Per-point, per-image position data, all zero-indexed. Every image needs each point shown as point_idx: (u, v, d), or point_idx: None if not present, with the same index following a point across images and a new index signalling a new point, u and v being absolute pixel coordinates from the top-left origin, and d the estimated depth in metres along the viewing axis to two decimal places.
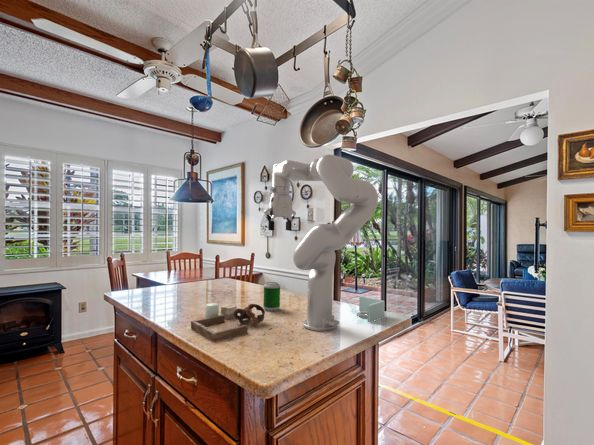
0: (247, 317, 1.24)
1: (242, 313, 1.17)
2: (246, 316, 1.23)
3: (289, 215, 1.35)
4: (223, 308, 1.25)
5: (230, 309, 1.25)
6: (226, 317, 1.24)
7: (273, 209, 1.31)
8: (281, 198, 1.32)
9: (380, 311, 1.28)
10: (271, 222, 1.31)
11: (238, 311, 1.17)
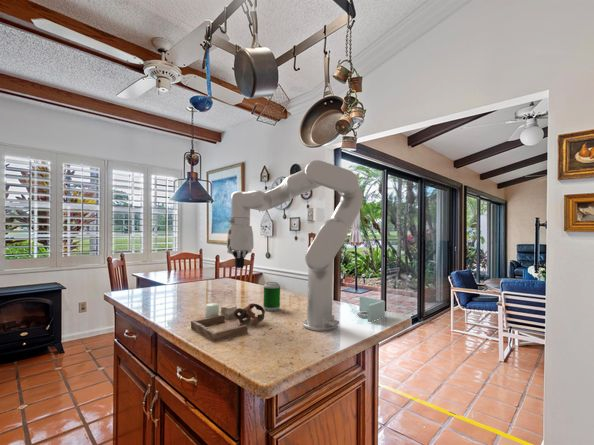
0: (247, 317, 1.24)
1: (242, 313, 1.17)
2: (246, 316, 1.24)
3: (249, 248, 1.23)
4: (223, 308, 1.25)
5: (230, 309, 1.25)
6: (226, 317, 1.24)
7: (231, 242, 1.19)
8: (240, 230, 1.20)
9: (380, 311, 1.28)
10: (238, 259, 1.22)
11: (238, 311, 1.17)
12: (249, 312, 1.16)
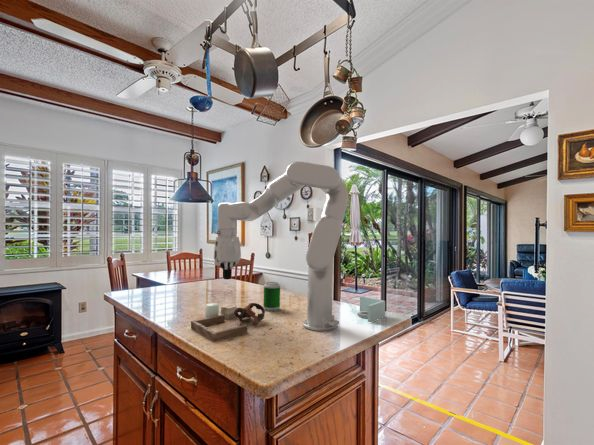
0: (247, 316, 1.25)
1: (242, 312, 1.18)
2: (246, 315, 1.25)
3: (237, 259, 1.23)
4: (223, 308, 1.25)
5: (230, 309, 1.25)
6: (226, 317, 1.24)
7: (217, 254, 1.18)
8: (226, 241, 1.20)
9: (380, 311, 1.28)
10: (225, 271, 1.22)
11: (239, 310, 1.18)
12: (249, 311, 1.17)
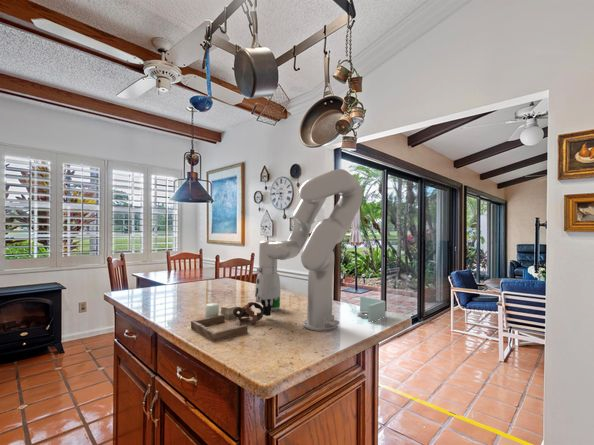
0: (246, 315, 1.26)
1: (241, 311, 1.19)
2: (245, 314, 1.25)
3: (277, 296, 1.25)
4: (223, 308, 1.25)
5: (230, 309, 1.25)
6: (226, 317, 1.24)
7: (259, 292, 1.21)
8: (268, 279, 1.22)
9: (381, 311, 1.28)
10: (266, 307, 1.24)
11: (238, 309, 1.19)
12: (248, 310, 1.18)
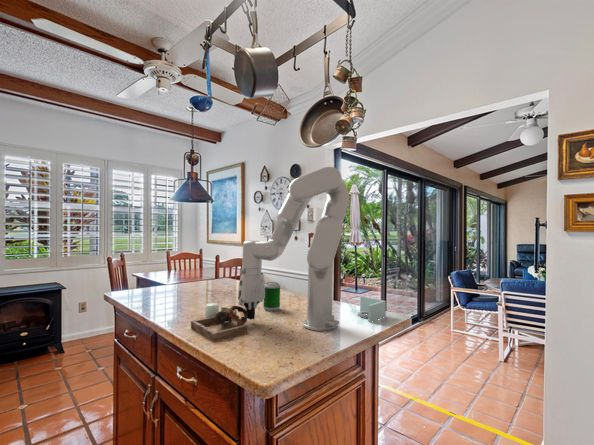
0: (228, 320, 1.19)
1: (225, 316, 1.12)
2: (227, 319, 1.19)
3: (261, 298, 1.20)
4: (223, 308, 1.25)
5: None
6: None
7: (242, 294, 1.16)
8: (251, 281, 1.17)
9: (381, 311, 1.28)
10: (249, 310, 1.19)
11: (221, 314, 1.12)
12: (232, 315, 1.12)
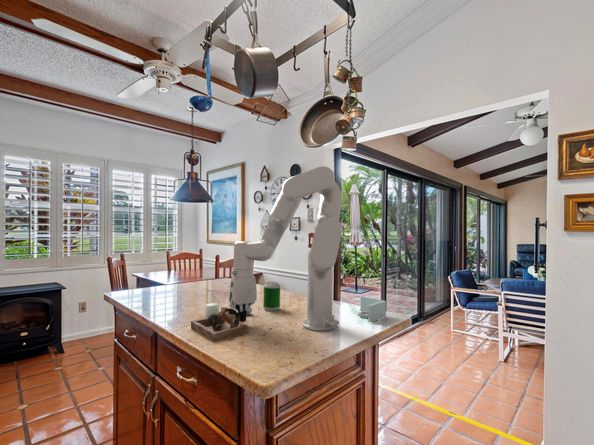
0: (218, 323, 1.15)
1: (217, 319, 1.09)
2: (217, 322, 1.15)
3: (252, 300, 1.17)
4: (223, 308, 1.25)
5: None
6: None
7: (233, 296, 1.13)
8: (242, 282, 1.14)
9: (381, 311, 1.28)
10: (240, 313, 1.16)
11: (213, 317, 1.08)
12: (225, 318, 1.09)
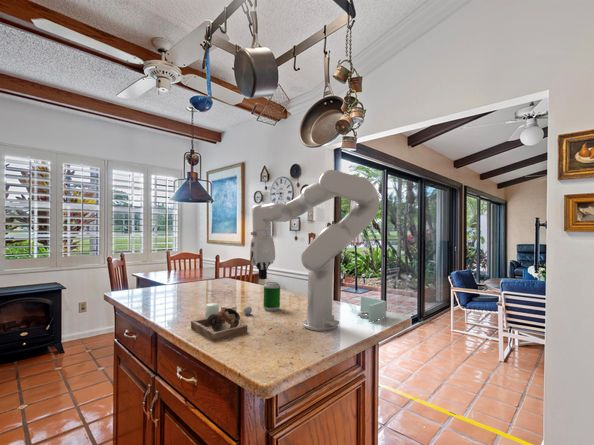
0: (218, 323, 1.16)
1: (217, 319, 1.09)
2: (217, 322, 1.15)
3: (272, 259, 1.26)
4: (223, 308, 1.25)
5: None
6: None
7: (254, 255, 1.22)
8: (262, 242, 1.23)
9: (381, 311, 1.28)
10: (261, 271, 1.25)
11: (213, 317, 1.08)
12: (225, 317, 1.09)
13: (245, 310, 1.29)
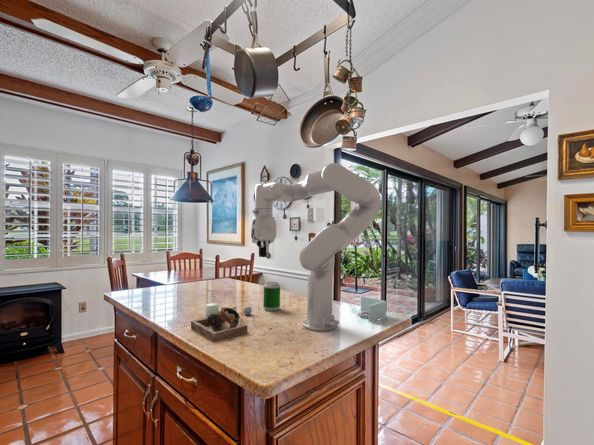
0: (218, 322, 1.16)
1: (217, 318, 1.09)
2: (217, 321, 1.16)
3: (272, 238, 1.29)
4: None
5: None
6: None
7: (255, 232, 1.24)
8: (263, 220, 1.26)
9: (381, 311, 1.28)
10: (261, 249, 1.27)
11: (213, 317, 1.09)
12: (225, 317, 1.09)
13: (245, 310, 1.29)
